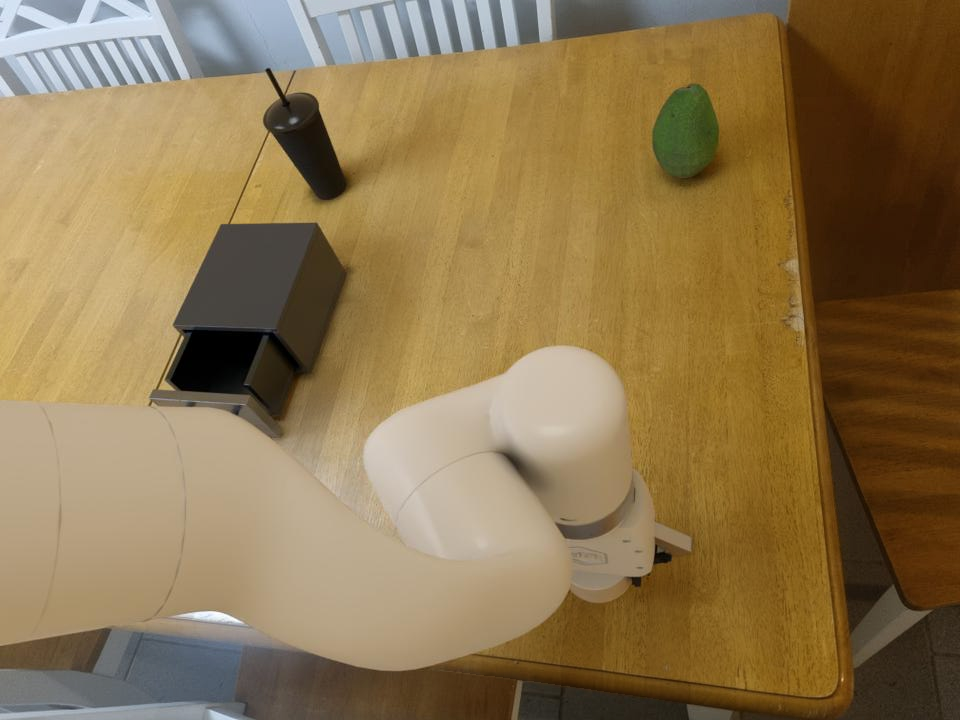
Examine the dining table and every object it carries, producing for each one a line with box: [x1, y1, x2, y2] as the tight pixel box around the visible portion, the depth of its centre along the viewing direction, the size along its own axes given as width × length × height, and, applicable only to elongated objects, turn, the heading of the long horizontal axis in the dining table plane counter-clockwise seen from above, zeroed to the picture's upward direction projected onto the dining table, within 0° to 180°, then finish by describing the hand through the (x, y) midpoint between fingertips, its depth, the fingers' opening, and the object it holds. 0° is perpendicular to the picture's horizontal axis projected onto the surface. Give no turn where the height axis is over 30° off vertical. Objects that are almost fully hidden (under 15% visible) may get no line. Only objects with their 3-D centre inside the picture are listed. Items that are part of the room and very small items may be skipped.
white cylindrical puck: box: [569, 570, 632, 604], centre depth 63 cm, size 6×6×4 cm
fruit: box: [651, 82, 720, 179], centre depth 88 cm, size 8×8×12 cm
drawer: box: [148, 330, 298, 439], centre depth 84 cm, size 21×12×8 cm, turn 169°
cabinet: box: [172, 222, 347, 375], centre depth 90 cm, size 16×14×10 cm
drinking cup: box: [262, 67, 347, 201], centre depth 98 cm, size 8×8×20 cm
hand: (597, 564), depth 64 cm, fingers closed on white cylindrical puck, 6 cm apart
